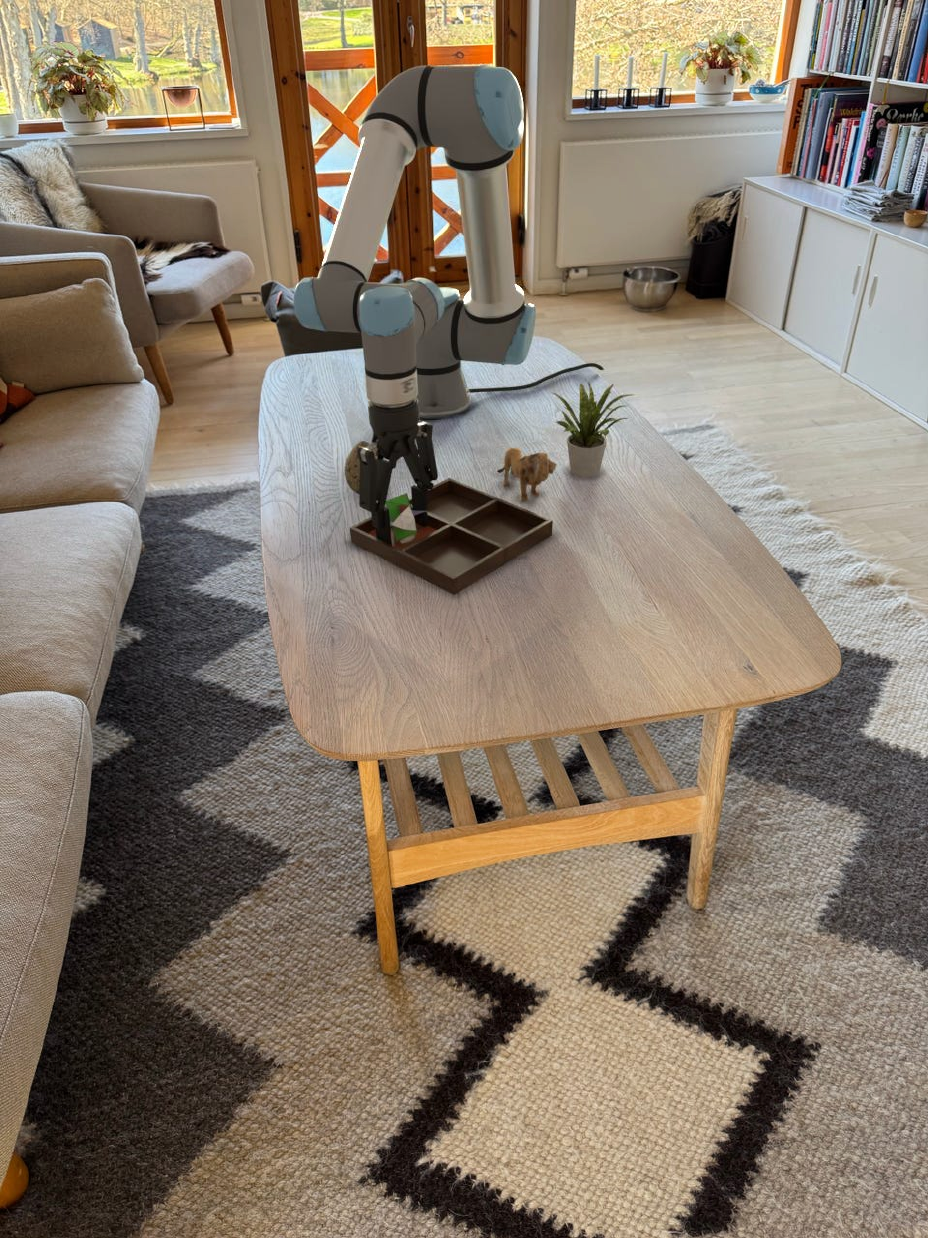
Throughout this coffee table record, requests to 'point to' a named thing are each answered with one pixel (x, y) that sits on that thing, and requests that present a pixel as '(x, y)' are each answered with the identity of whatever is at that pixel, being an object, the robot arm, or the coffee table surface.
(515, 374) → the coffee table surface
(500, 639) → the coffee table surface
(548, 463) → the lion figurine
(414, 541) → the sorting tray
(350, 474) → the decorative egg
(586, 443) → the house plant
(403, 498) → the geometric puzzle
